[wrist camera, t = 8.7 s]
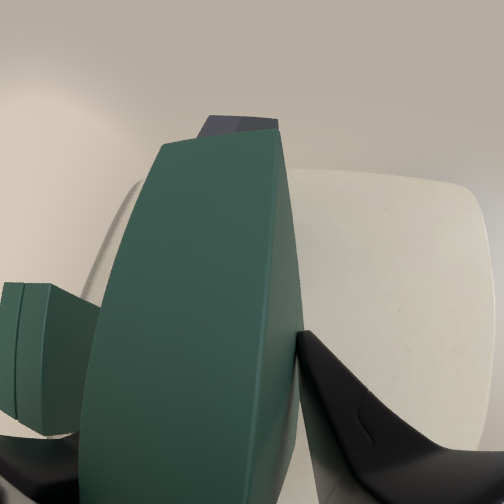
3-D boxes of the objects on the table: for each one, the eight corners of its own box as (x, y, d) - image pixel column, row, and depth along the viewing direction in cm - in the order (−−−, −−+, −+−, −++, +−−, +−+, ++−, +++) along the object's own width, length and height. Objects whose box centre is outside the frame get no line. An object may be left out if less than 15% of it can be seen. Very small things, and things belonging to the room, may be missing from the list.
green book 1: (136, 409, 19) (15, 420, 7) (115, 404, 19) (-5, 406, 7) (138, 330, 22) (23, 282, 10) (117, 329, 22) (3, 281, 10)
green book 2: (161, 413, 18) (44, 437, 7) (138, 409, 19) (17, 421, 7) (162, 332, 21) (50, 282, 10) (139, 331, 21) (25, 282, 10)
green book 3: (294, 446, 12) (232, 602, 1) (254, 443, 12) (82, 541, 1) (303, 327, 15) (279, 126, 4) (266, 326, 16) (161, 143, 5)
